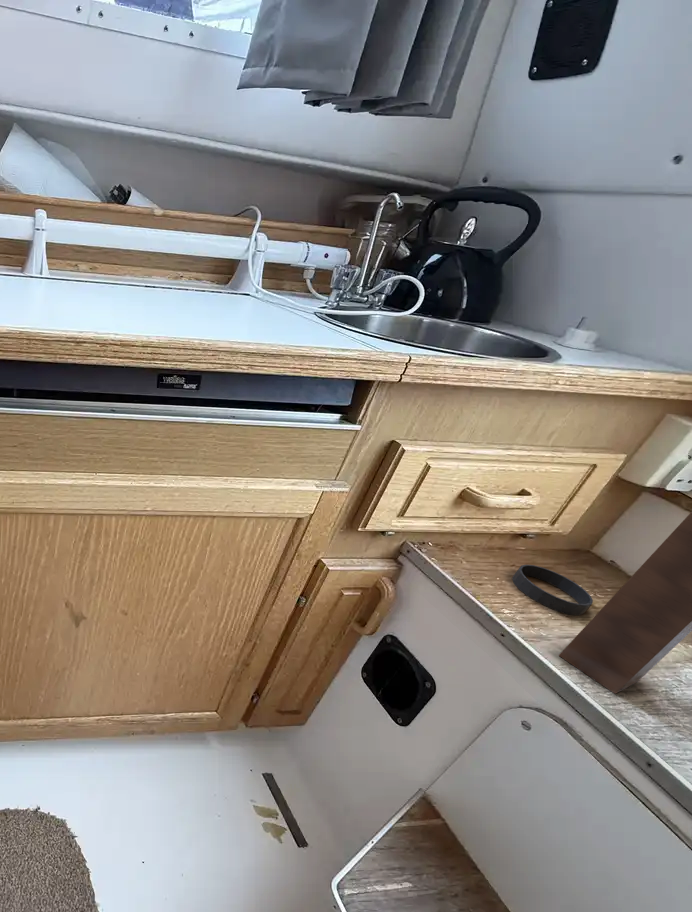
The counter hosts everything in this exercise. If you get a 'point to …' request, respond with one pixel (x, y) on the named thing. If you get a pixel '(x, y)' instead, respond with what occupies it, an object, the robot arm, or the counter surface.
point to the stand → (640, 617)
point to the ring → (548, 598)
